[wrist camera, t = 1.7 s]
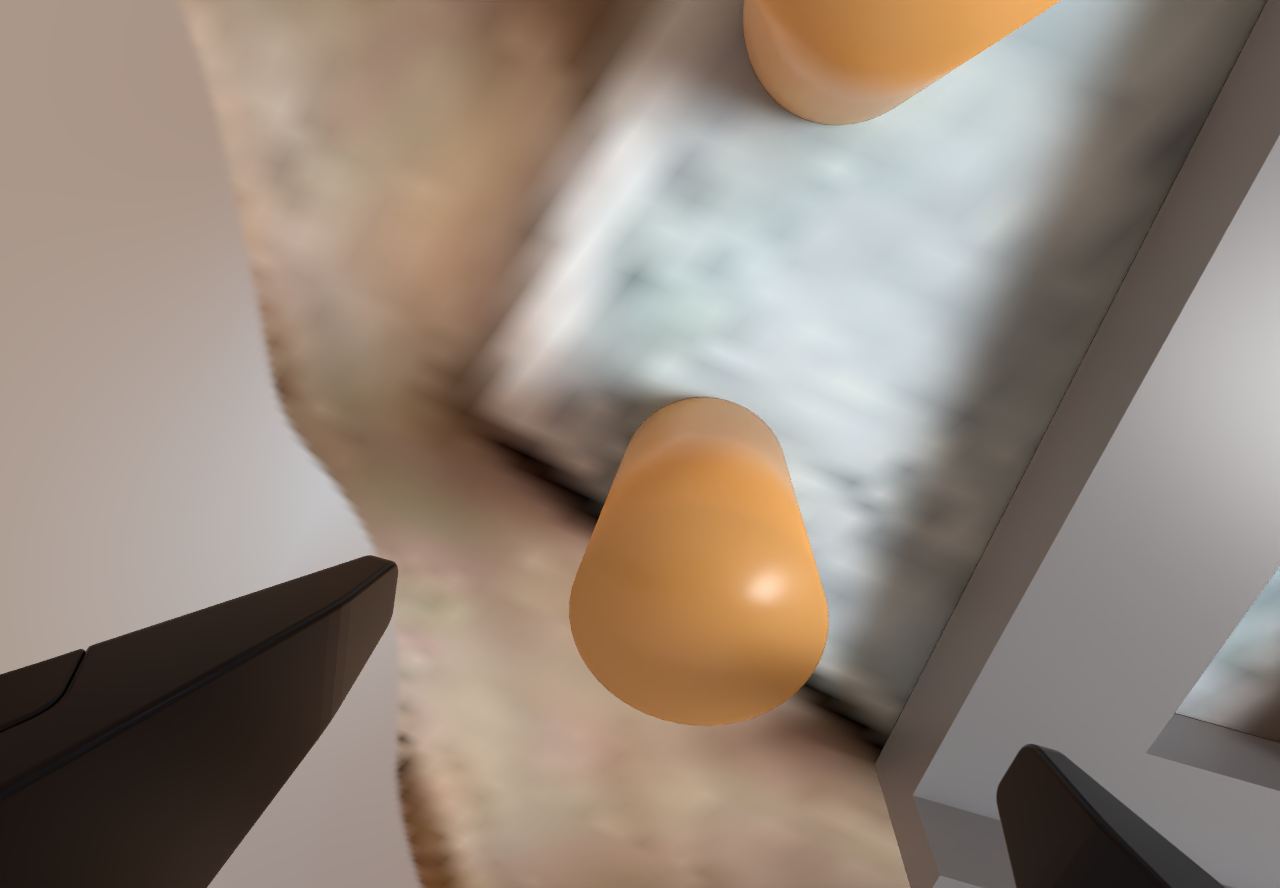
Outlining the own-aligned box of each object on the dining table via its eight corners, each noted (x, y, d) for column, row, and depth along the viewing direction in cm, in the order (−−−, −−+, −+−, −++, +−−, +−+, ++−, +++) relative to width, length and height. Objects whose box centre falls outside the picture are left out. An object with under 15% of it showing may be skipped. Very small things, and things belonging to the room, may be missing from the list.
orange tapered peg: (757, 566, 16) (779, 753, 10) (606, 524, 16) (547, 686, 10) (809, 422, 15) (869, 548, 9) (644, 377, 15) (599, 473, 9)
